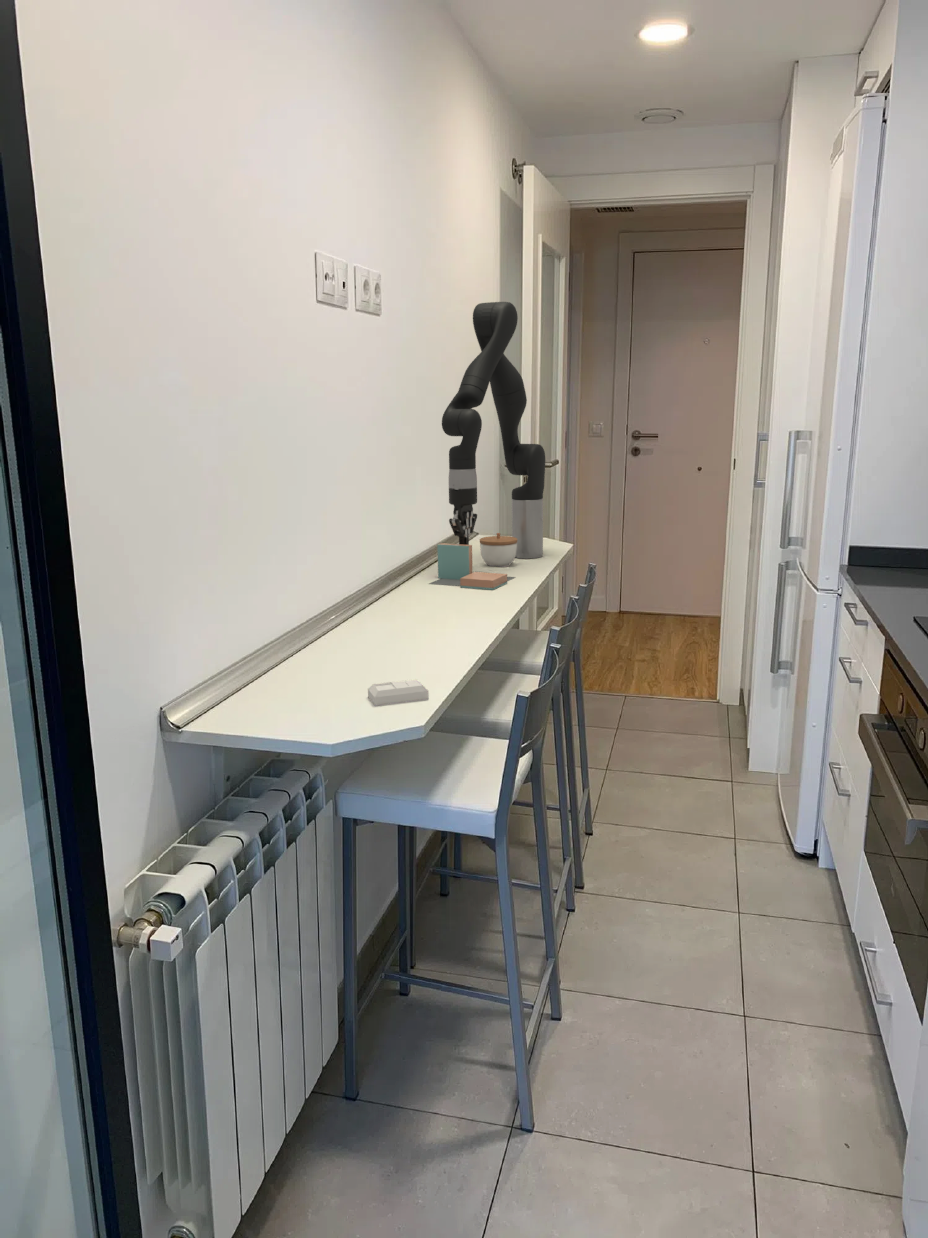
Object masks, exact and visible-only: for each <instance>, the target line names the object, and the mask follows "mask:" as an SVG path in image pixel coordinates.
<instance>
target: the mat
mask: <svg viewBox="0 0 928 1238" xmlns="http://www.w3.org/2000/svg"><path fill="white" fill-rule="evenodd" d="M516 578H517V577H516V576H507V582H509V581H511V580H513V579H516ZM428 585H434V586H435V585H437V586H446V587H447V586H449V587H450V586H451V587H460V580H458V579H444V578H438V579H436V580H433V581H432V582H429V583H428Z"/></svg>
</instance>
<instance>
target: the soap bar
mask: <svg viewBox="0 0 928 1238" xmlns="http://www.w3.org/2000/svg"><path fill="white" fill-rule="evenodd" d="M367 697H368V698H369V700H370V701H371V703H372V704H373V705H374V706H375V707H378V706H384V705H391V704H393V705H394V704H402V703H406V702H407V703H408V702H410V703H411V702H417V701H425V700H429V699H430V698H429V697H430V693H429V690H428V689H427V688H426V686H424V684H423V683H421V681H419V680H418V679H416V678H415V679H407V680H398V681H388V682H381V683H373V684H372V685H370V686H369V687H368V688H367Z"/></svg>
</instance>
